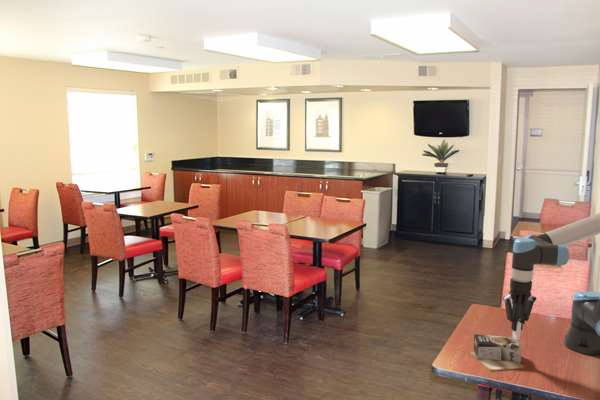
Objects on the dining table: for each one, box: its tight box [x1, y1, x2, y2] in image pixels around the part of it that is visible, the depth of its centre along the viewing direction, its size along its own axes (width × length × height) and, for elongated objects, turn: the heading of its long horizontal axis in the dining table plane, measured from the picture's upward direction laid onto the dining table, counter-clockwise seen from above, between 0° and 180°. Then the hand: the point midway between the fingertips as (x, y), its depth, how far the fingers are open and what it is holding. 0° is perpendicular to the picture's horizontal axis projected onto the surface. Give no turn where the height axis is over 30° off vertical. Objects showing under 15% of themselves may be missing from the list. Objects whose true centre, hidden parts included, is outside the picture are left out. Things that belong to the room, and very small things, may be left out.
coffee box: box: [473, 334, 523, 363], centre depth 197 cm, size 9×6×16 cm
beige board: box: [470, 351, 525, 372], centre depth 194 cm, size 14×14×1 cm
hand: (515, 338), depth 193 cm, fingers closed
